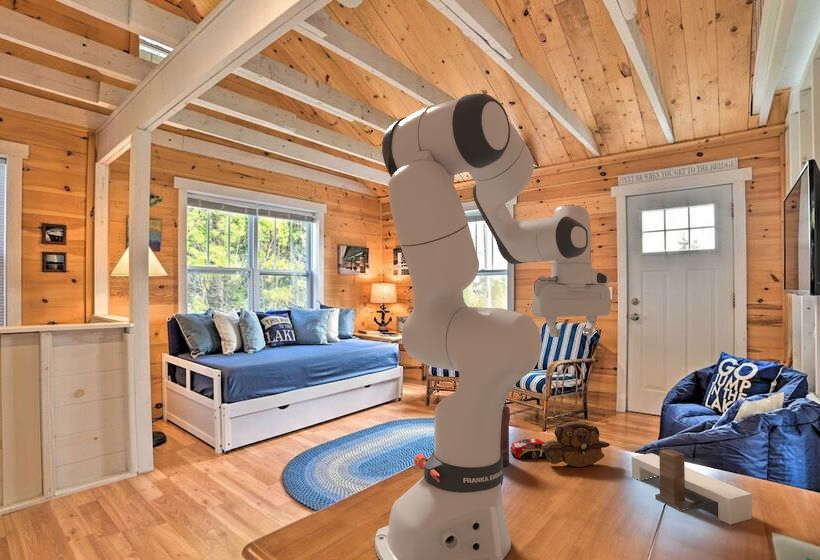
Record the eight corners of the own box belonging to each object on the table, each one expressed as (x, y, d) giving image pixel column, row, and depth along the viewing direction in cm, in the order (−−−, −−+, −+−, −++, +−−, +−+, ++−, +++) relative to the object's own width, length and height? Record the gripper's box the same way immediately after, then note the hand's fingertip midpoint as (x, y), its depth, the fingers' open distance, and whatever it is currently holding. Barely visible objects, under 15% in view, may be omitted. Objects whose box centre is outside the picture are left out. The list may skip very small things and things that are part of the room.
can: (510, 469, 102) (510, 408, 102) (482, 467, 103) (482, 407, 103) (509, 459, 108) (509, 402, 108) (483, 457, 109) (483, 400, 109)
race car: (558, 451, 114) (558, 436, 114) (567, 460, 108) (567, 443, 108) (508, 452, 113) (508, 436, 113) (514, 460, 108) (514, 444, 108)
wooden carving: (549, 472, 100) (549, 428, 100) (540, 464, 105) (539, 422, 105) (613, 466, 103) (613, 424, 104) (601, 459, 108) (601, 418, 108)
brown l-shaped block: (679, 511, 83) (678, 458, 83) (655, 499, 87) (654, 449, 88) (719, 500, 87) (718, 450, 87) (695, 489, 92) (694, 441, 92)
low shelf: (729, 524, 78) (729, 499, 78) (632, 477, 98) (631, 456, 98) (751, 518, 80) (751, 493, 80) (651, 473, 100) (651, 453, 100)
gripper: (543, 275, 95) (543, 339, 95) (615, 276, 102) (615, 335, 102) (525, 276, 101) (525, 336, 101) (595, 277, 108) (595, 333, 108)
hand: (571, 336), depth 102 cm, fingers open, 8 cm apart
